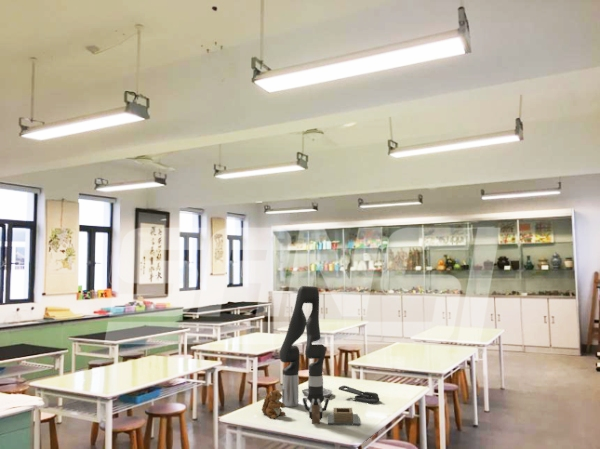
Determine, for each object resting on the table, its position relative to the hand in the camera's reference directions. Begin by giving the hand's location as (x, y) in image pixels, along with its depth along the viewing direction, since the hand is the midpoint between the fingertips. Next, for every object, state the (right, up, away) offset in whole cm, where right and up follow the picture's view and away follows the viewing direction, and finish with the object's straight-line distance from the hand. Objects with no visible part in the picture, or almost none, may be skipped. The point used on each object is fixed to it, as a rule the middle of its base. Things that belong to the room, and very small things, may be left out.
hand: (315, 418), depth 241 cm
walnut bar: (0, -2, 0) cm, 2 cm away
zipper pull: (+27, -7, +43) cm, 52 cm away
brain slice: (+3, -8, +54) cm, 55 cm away
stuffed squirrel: (-23, -4, +13) cm, 27 cm away
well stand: (+14, -2, +3) cm, 15 cm away
